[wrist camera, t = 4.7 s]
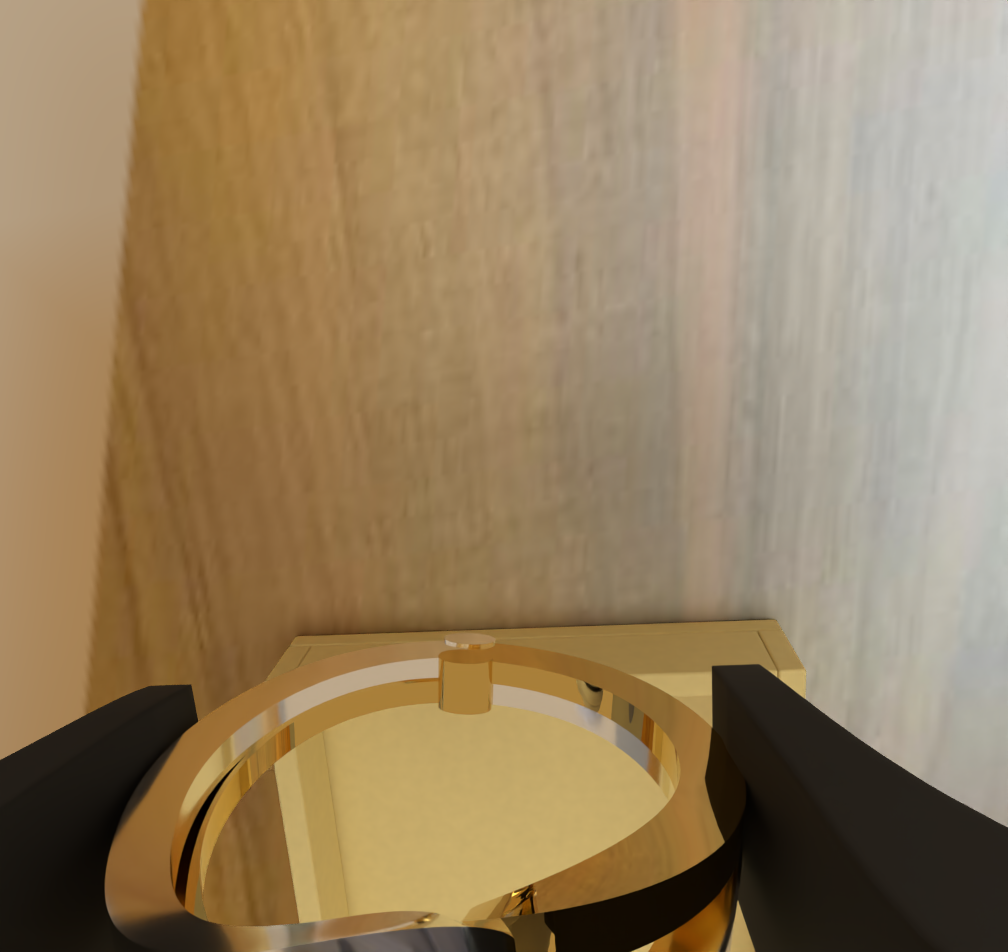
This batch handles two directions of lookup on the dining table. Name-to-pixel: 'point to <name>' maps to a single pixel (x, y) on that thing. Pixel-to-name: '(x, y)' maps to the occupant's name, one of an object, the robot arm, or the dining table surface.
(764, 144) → the dining table surface
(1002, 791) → the dining table surface
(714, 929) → the ring
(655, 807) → the yellow tray
